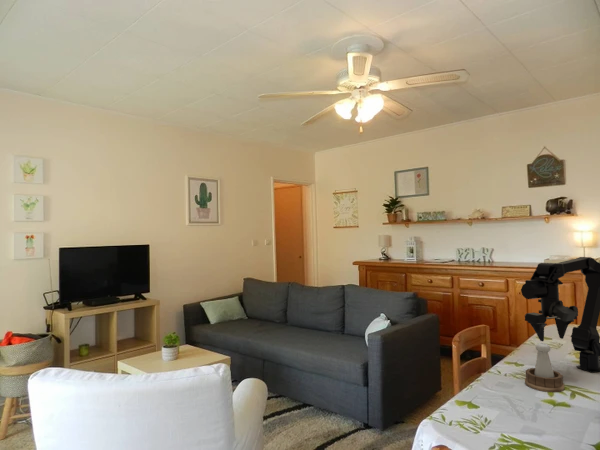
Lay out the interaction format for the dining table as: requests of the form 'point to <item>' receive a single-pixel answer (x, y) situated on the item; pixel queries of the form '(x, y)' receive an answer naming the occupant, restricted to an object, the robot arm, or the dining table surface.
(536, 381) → the collar stand
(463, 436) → the dining table surface
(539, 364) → the salt shaker
